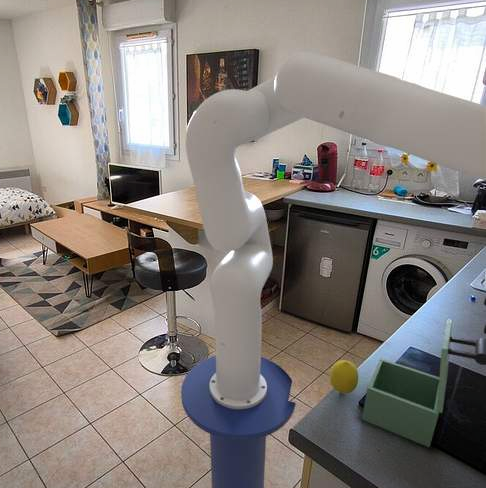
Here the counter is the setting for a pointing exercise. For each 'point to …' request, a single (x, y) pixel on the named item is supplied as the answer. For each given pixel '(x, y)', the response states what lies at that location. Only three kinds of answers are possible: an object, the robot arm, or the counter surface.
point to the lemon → (344, 376)
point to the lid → (482, 355)
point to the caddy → (403, 401)
